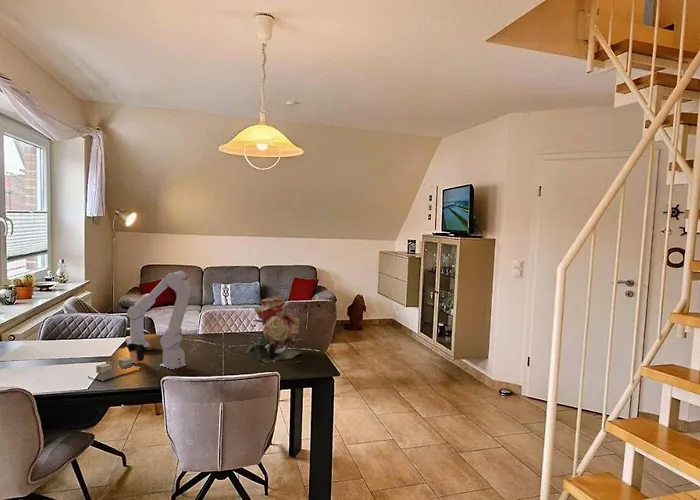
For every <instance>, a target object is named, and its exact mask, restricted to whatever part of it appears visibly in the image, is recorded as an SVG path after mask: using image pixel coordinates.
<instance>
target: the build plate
mask: <svg viewBox="0 0 700 500" xmlns="http://www.w3.org/2000/svg"><path fill="white" fill-rule="evenodd" d="M117 364H118V365H117V366H118V368H121V369H127V368H131V367H132V365H133V366H135V368H136V369H137V368H141V367H140V366H138V365H135V364H132V358H130V357H128V356H125V357H122V358H119V359H118V363H117ZM95 367H96V369H95V371H96V373H99V374H101V375H103V374H107V373H111V368H112V365H111V364H110V363H107V362H106V363H104V362H103V363H101V364H100V363H99V364H97V365H95Z"/></svg>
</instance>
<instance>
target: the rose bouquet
mask: <svg viewBox="0 0 700 500" xmlns="http://www.w3.org/2000/svg"><path fill="white" fill-rule="evenodd" d="M258 302H260V304H261V305H260V306H255V307H253V310H254V311H255V313H256V314H257V316H258V318H259V319H253V320H252V321H253V322H256V323H261V325H263V326H264V329H263V330H262V331H263V334H262V335H261V336H260V334H259V335H257V338H256V339H257V342H254V343H253V344H250V345H249V346H248V348H246V350H244V352H245V353H246V354H247V355H248V356H250V357H252V358H254V359H255V360H257V361H260V362H263V363H264V364H266V363H267V364H268V363H271V362H272V363H275V362H276V361H279V360H284V358H285V360H290V359H293V358H295V357H296V356H298V355H301V354H302V352H300V351H297V350H293V349H289V348H287V347H288V346H287V344H289V345H291V347H293V348H295V345H296V342H295V341H293V339H292V338H295V337H296V336H297V335H298V336H299V335H300V330H299V327H300V324H301V323H300V321H301V319H299V318H298V317H297V316H295V315H294V314H292V313H289V312H288V313H287V312H286V310H287V309H286V307H284V305H285V304H286V302H287V301H286V300H283V297H282V296H281V295H279V294H278V295H275V296H269V297H266V298H264V299H259V300H258ZM252 327H253V328H254V327H257V325H256V324H252ZM258 336H259V337H258ZM280 344H284V345H285V347H281V348H280V347H278V346H279V345H280ZM275 354H276V355H275ZM275 356H276V357H275ZM272 359H275V360H272ZM285 360H284V361H285ZM269 361H270V362H269Z"/></svg>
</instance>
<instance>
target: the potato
mask: <svg viewBox="0 0 700 500" xmlns="http://www.w3.org/2000/svg"><path fill="white" fill-rule="evenodd" d="M160 339H161V337H160V336H159V334H157V333H156V334H155V333H154V334H146V333H144V340H146V341H147V342H149V346H148V348H147V351H150V350H151V351H152V350H154V349H155V348H157V346H158V345H159V343H160ZM138 346H139V345H138Z"/></svg>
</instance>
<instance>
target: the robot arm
mask: <svg viewBox="0 0 700 500" xmlns="http://www.w3.org/2000/svg"><path fill="white" fill-rule="evenodd" d="M189 281H190V277H189V275H188V274H187V273H186V271H184V270H177V271H175V272H169V273H168V274H167V275H166V276H164V277H163V278H162V279H161V281H160V282H158V284H157V285H156V286H155V287H154V288H153V289H152V290H151V292H150V293H145V294H142V295H140V297H141V298H140V299H139V300H137V301H136V302H134V305H132V306H130V307H128V309H127V312H126V313H127V314H126V315H127V317H129V337H125V338H124V339H125V343H127V344H125V347H126V348H127V349H128V352H129V353H130V351H134V350H136V351H137V355H138V361H142V360H143V359H144V355H146V350H147V348H148V346H149V342H147V341H146V340H144V335H145V331H144V329H145V328H144V327H145V326H144V318H145V315H146V313H147V311H148V310H149V309H150V308H151V307H152V306H153V305H154V304H155V303H156V298H158V296H160V294H162V292H163V293H164V291H165V290H167V288H171V290H173V291H175V294H177V295H176V299H175V302H174V305H173V309H172V313H171V317H170V320H169V324H168V327H167V328H166V330H165V331H164V333H163V335H162V336H161V337H160V342H159V343H160V346H161V347H162V362H163V363H160V364H159V365H160V366H159V367H161V366H163V367H162V368H164V367H166V368H165V369H168V368H169V369H168V370H171V369H173V370H176V369H178V368H182V367H184V366H185V367H186V366H187V363H185V362H186V361H185V359H186V358H185V355H186V354H185V350H184V349H183V348H181V345H180V343H181V341H182V340H183V333H182V332H183V329H182V324H183V320H184V317H185V313H186V310H187V307H188V303H189V299H190V296H191V292H192V291H191V287H190V283H189ZM138 345H139V346H138ZM147 351H148V350H147ZM175 368H176V369H175Z"/></svg>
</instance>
